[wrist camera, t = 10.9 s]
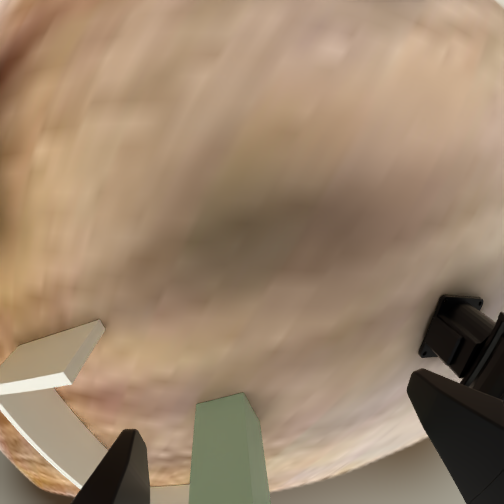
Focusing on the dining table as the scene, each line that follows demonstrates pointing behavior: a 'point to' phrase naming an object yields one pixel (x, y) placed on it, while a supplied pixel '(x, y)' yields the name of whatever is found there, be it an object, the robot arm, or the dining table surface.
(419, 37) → the dining table surface
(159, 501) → the cream u-shaped wall
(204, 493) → the block
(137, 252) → the dining table surface
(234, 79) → the dining table surface
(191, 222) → the dining table surface
